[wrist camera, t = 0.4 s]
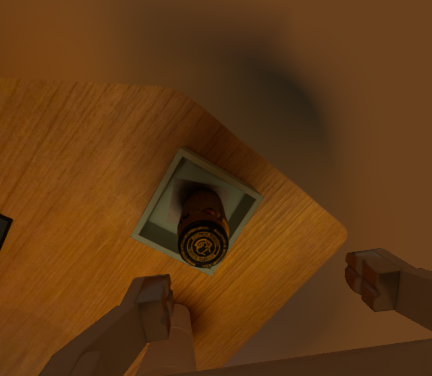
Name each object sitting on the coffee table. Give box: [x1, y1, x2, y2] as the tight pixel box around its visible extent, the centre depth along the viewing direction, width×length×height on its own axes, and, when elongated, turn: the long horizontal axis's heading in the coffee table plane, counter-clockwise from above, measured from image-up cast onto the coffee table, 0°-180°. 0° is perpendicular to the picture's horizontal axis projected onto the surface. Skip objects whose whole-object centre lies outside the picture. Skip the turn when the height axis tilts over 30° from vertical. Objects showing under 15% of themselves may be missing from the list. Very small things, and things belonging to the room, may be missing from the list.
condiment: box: [166, 178, 230, 268], centre depth 26 cm, size 7×8×12 cm
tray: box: [130, 146, 264, 276], centre depth 30 cm, size 14×13×5 cm
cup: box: [135, 304, 197, 376], centre depth 28 cm, size 11×11×18 cm
